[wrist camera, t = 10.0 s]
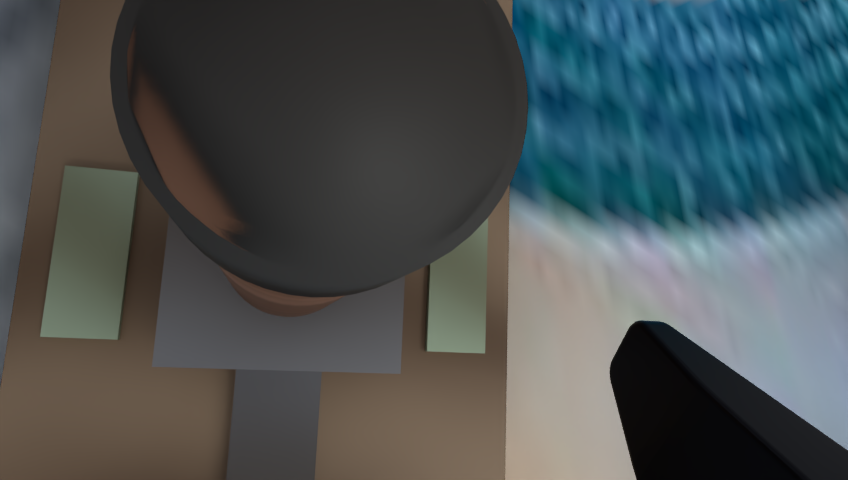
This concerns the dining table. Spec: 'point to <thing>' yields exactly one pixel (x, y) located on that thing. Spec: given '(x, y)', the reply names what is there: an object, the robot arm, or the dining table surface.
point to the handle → (311, 165)
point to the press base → (217, 388)
